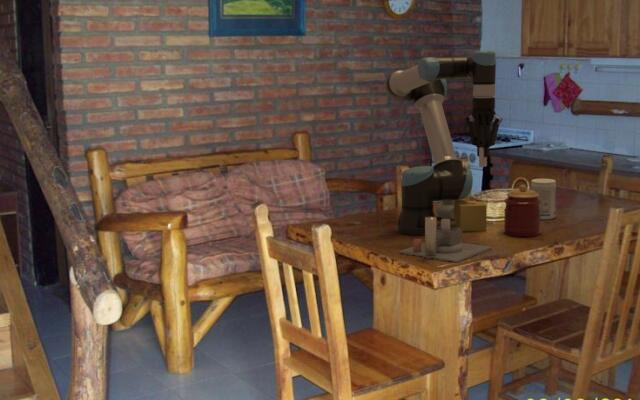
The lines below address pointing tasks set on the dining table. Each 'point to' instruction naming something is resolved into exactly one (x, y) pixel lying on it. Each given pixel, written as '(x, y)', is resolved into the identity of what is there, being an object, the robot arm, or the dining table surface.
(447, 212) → the air freshener
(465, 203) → the olive yellow box
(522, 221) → the canister
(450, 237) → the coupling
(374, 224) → the dining table surface
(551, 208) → the supplement tub
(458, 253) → the square plate with uprights
